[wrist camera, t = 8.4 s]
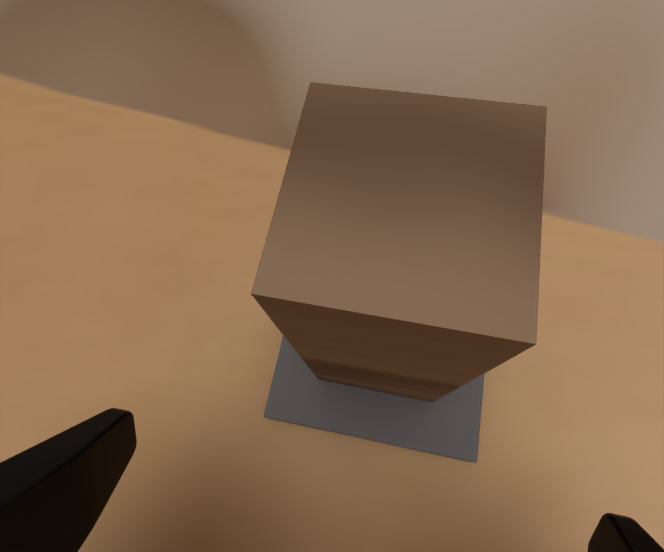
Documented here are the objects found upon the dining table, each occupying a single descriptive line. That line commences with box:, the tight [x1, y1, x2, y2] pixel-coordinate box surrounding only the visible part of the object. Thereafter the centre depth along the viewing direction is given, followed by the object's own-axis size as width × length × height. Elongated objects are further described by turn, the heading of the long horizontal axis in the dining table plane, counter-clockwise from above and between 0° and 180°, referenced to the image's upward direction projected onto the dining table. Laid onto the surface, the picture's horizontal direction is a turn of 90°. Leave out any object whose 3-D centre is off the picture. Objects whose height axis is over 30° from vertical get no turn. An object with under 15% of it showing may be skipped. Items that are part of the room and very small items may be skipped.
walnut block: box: [251, 83, 547, 402], centre depth 14 cm, size 5×5×12 cm
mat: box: [264, 336, 484, 463], centre depth 20 cm, size 9×9×1 cm
